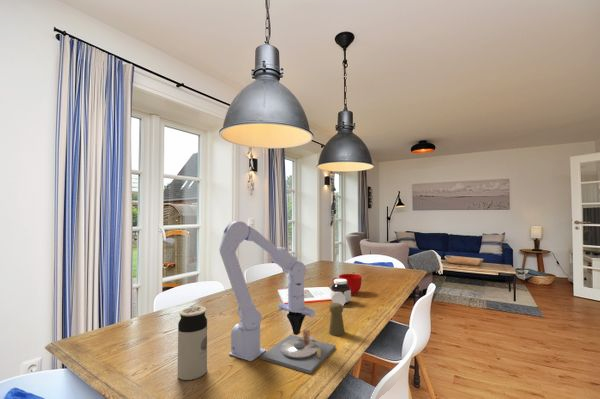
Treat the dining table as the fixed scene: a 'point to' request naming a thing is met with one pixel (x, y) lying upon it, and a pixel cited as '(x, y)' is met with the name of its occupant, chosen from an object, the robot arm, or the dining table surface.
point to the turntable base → (299, 364)
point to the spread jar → (340, 292)
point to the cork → (336, 320)
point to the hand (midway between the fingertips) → (296, 333)
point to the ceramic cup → (351, 281)
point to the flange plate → (300, 353)
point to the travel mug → (192, 343)
